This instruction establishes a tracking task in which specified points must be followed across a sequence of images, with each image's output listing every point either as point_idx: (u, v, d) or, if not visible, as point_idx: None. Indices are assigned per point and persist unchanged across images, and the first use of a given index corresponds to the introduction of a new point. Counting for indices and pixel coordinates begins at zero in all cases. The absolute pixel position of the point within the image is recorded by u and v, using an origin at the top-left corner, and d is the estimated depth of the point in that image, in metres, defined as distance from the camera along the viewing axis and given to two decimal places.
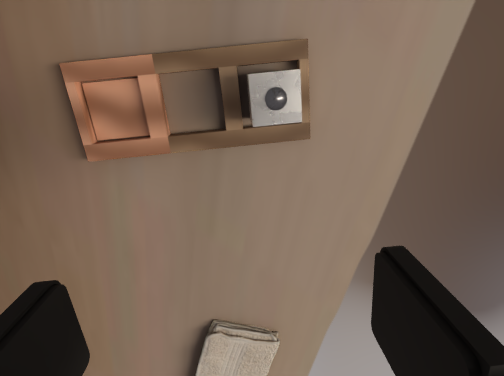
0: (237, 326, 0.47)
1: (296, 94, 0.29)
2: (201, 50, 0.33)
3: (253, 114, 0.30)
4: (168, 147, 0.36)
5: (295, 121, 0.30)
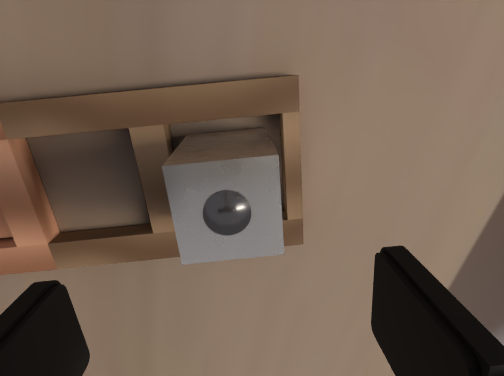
0: None
1: (271, 205, 0.14)
2: (91, 97, 0.17)
3: (180, 242, 0.14)
4: (51, 259, 0.20)
5: (270, 253, 0.15)
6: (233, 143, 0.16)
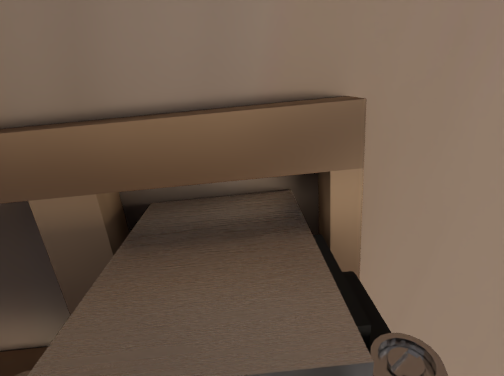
0: None
1: None
2: None
3: None
4: None
5: None
6: (234, 253, 0.07)
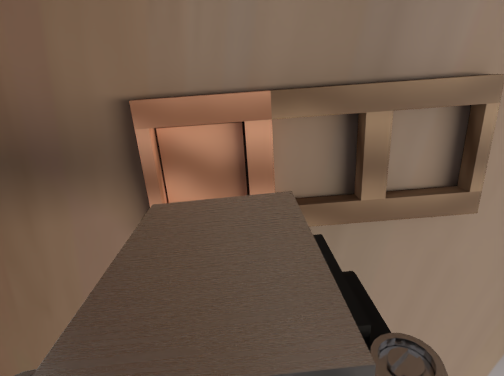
0: None
1: None
2: (345, 87, 0.21)
3: None
4: None
5: None
6: (236, 255, 0.07)
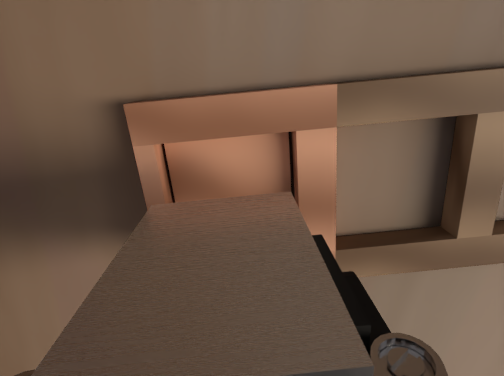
0: None
1: None
2: (451, 76, 0.14)
3: None
4: None
5: None
6: (235, 256, 0.07)
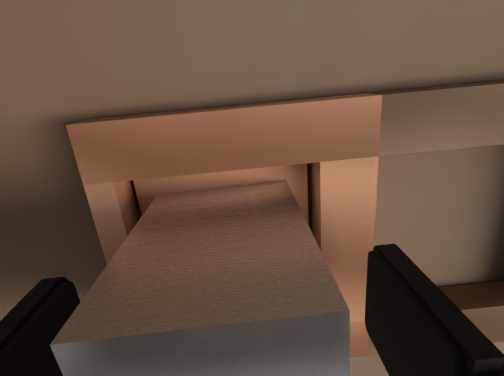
0: None
1: None
2: None
3: None
4: (364, 342, 0.13)
5: None
6: (234, 234, 0.08)
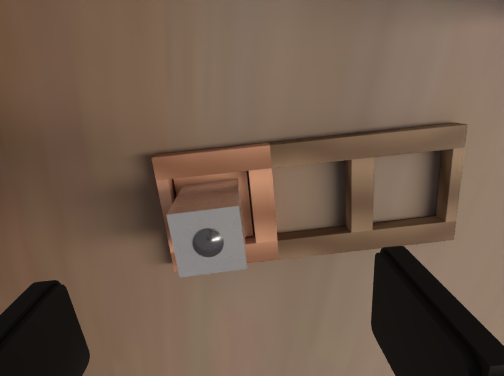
0: None
1: (236, 237, 0.21)
2: (333, 140, 0.25)
3: (178, 262, 0.22)
4: (276, 252, 0.28)
5: (238, 268, 0.22)
6: (213, 194, 0.24)
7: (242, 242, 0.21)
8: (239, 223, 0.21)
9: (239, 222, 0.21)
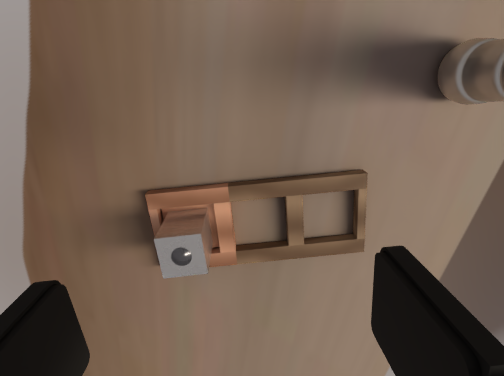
0: None
1: (200, 253, 0.32)
2: (272, 183, 0.36)
3: (162, 268, 0.33)
4: (235, 259, 0.40)
5: (201, 273, 0.33)
6: (187, 222, 0.35)
7: (204, 256, 0.33)
8: (201, 244, 0.32)
9: (201, 244, 0.32)
